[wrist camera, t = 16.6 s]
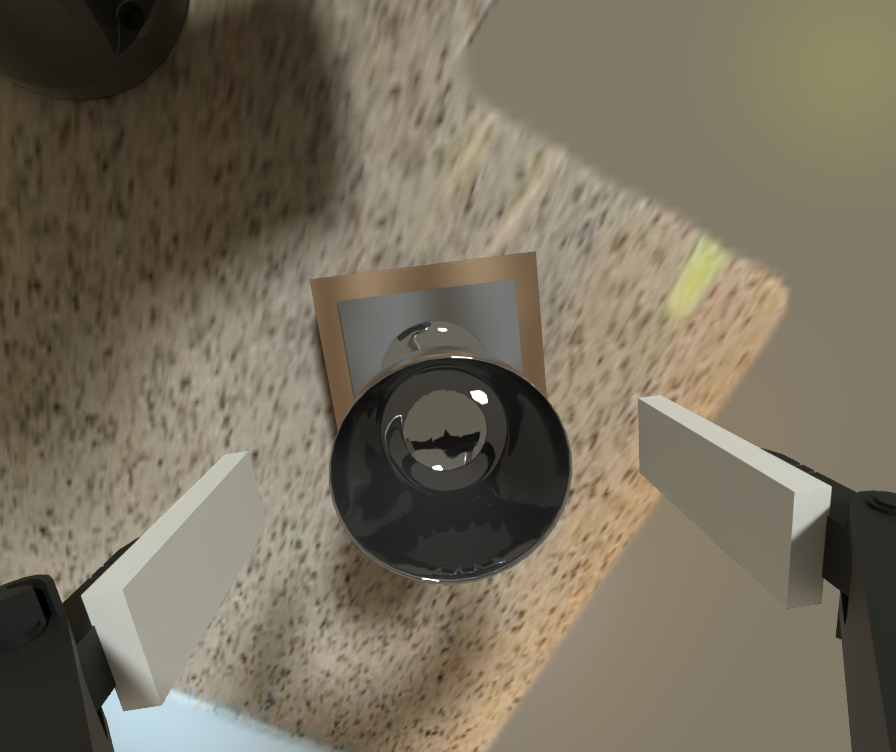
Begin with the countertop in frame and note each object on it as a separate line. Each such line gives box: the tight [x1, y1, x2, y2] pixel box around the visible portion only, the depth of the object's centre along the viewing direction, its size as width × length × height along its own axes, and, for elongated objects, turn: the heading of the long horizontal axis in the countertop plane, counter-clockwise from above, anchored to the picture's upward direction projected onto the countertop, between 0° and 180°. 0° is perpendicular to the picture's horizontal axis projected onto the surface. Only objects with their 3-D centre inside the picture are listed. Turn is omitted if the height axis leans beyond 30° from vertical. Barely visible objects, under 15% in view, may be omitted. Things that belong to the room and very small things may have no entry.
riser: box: [310, 251, 547, 430], centre depth 32 cm, size 14×14×4 cm
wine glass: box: [329, 320, 572, 584], centre depth 22 cm, size 8×8×15 cm
